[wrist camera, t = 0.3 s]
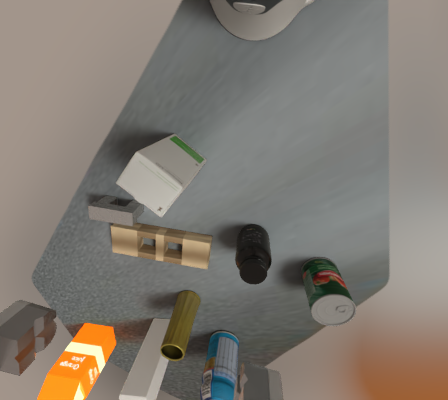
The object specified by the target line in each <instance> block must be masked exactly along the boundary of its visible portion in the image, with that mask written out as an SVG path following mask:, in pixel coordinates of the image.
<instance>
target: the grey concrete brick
mask: <svg viewBox="0 0 448 400" xmlns="http://www.w3.org/2000/svg"><path fill="white" fill-rule="evenodd" d="M88 209H89V217H90V219H93V220H99V221H105V222H110V223H116V224H122V225H128V226H134V224H135V223H136V222H137V218H138V217H139V216H140V215H141V214H142V213H143V212H144V204H141V203H139V202H138V201H136V200H132V201H131V202H130V203H129V204H128V205H127V206H126V207H124V206H118V201H117V197H113V196H105V197H104V198H102V199H101V200H99V201H98V202H93V203H91V204H90V205H88Z"/></svg>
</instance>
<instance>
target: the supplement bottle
mask: <svg viewBox="0 0 448 400" xmlns="http://www.w3.org/2000/svg"><path fill="white" fill-rule="evenodd" d="M235 261H236V265H237V267H238V269H239V270H240V276H241V278H242V280H244V281H245V282H246V283H249V284H259V283H261V282H263V281H264V280H265V279H266V277H267V270H268V269H269V268H270V266H271V250H270V242H269V236H268V233H267V232H266V230H265V229H264V228H262V227H260V226H257V225H249V226H246V227H244V228H243V229H242V230H241V231H240V232H239V234H238V239H237V248H236V257H235Z"/></svg>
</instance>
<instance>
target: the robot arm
mask: <svg viewBox="0 0 448 400" xmlns="http://www.w3.org/2000/svg"><path fill="white" fill-rule="evenodd" d="M209 1H210V3H211V5H212V8H213V10H214V12H215V14H216V16H217V18H218V20H219V21H220V23H221V24H222V25H223V26H224V27H225V28H226V29H227V30H228V31H229V32H230V33H232V34H233V35H235V36H237V37H239V38H242V39H245V40H252V41H256V40H263V39H267V38H270V37H272V36H274V35H276V34H277V33H279V32H280V31H282V30H283V29H284V28H285V27H286V26H287V25H288V24H289V23H290V22H291V21H292V20H293V19H294V17H295V16H296V15H297V14H298V12H299V11H300V10H301V9H302V8H304V7H305V6H307V5H309V4H310V3H312V2H314V1H315V0H209ZM55 318H56V310H53V309H50V308H46V307H43V306H40V305H37V304H33V303H30V302H27V301H23V300H19V301H16V302H15V303H13V304H12V305H11V306H9V307H8V308H7V309H5V310H4V311H3V312H1V313H0V371H3V372H7V373H11V374H15V375H19V376H20V375H21V374H22V373H23V371H25V370H26V368H27V367H28V366H29V365H30V364H31V363H32V362H33V361H34V360H35V356H36V353H37V352H39V351H42V350H44V349H45V348H46V347H47V346H48V344H49V343H50V342H51V340H52V339H53V337H54V335H55V332H56V323H55V322H54V319H55ZM233 400H283V393H282V383H281V375H280V373H279V372H278V371H275V370H271V369H267V368H265V367H261V366H257V365H253V364H250V363H246V362H243V363H242V366H241V370H240V375H238V377H237V380H236V384H235V389H234V398H233Z"/></svg>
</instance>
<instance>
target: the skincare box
mask: <svg viewBox="0 0 448 400" xmlns="http://www.w3.org/2000/svg"><path fill="white" fill-rule="evenodd" d="M206 161H207V160H206V159H205V158H204V157H203V156H201V155H200V154H199V153H198V152H197V151H195V150H194V149H193V148H192V147H190V146H189V145H188V144H187V143H185V142H184V141H183V140H182V139H181V138H179V137H178V136H177V135H176V134H173V135H171V136H168V137H166V138H164V139H162V140H160V141H158V142H156V143H154V144H152V145H149V146H147V147H145V148H143V149H141V150H139V151H136V153H135V154H134V155H133V157H132V158H131V160H130V161H129V163H128V165H127V166H126V168H125V169H124V171H123V172H122V174H121V175H120V177H119V179H118V180H117V182H116V184H118V185H119V186H120V187H122V188H123V189H124V190H125V191H127V192H128V193H129V194H131V195H132V196H133V197H134V198H135V200H136V201H138V202H139V203H141V204H144V205H145V206H147V207H148V208H149V209H151V210H152V211H153V212H155V213H156V214H157V215H158V216H160V217H162V216H163V215H164V214H165V212H166V211H167V210H168V209H169V207H170V206H171V205H172V204H173V203H174V202H175V200H176V199H177V198H178V197H179V195H180V194H181V193H182V192H183V191H184V189H185V188H186V187H187V186H188V185H189V183H190V182H191V181H192V180H193V178H194V177H195V176H196V175H197V173H198V172H199V171H200V169H201V168H202V167H203V165H204V164H205V163H206Z"/></svg>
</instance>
